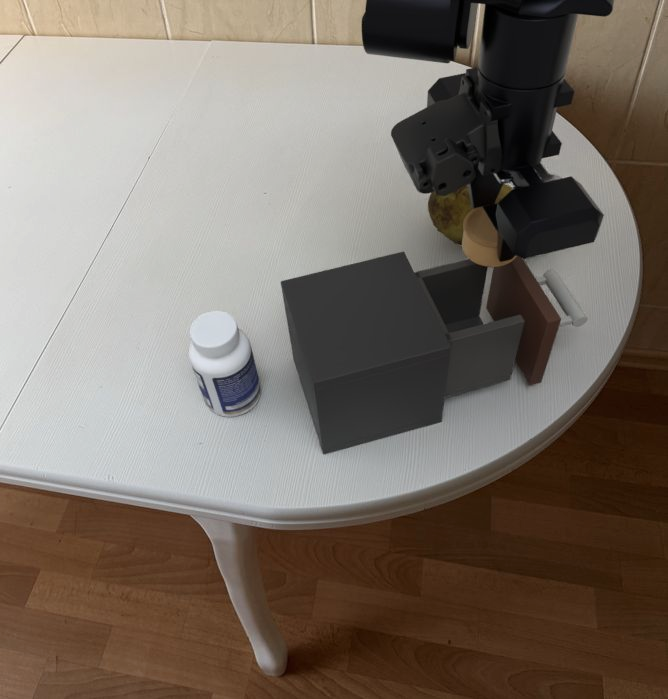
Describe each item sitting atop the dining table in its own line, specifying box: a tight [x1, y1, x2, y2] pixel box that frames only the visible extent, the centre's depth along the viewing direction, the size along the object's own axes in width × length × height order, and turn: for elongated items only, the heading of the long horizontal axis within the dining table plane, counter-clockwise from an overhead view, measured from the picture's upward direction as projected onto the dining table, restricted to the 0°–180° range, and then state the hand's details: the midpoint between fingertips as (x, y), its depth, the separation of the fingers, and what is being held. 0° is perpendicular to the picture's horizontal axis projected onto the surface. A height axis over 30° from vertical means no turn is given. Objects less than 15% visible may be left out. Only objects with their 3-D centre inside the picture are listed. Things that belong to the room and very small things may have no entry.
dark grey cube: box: [280, 251, 451, 455], centre depth 61 cm, size 11×11×11 cm
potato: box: [427, 184, 513, 247], centre depth 73 cm, size 8×13×8 cm, turn 70°
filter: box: [461, 206, 517, 268], centre depth 59 cm, size 5×5×2 cm
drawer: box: [414, 256, 588, 398], centre depth 62 cm, size 14×10×9 cm
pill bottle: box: [188, 310, 262, 418], centre depth 62 cm, size 5×5×10 cm
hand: (492, 238), depth 59 cm, fingers closed on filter, 5 cm apart
